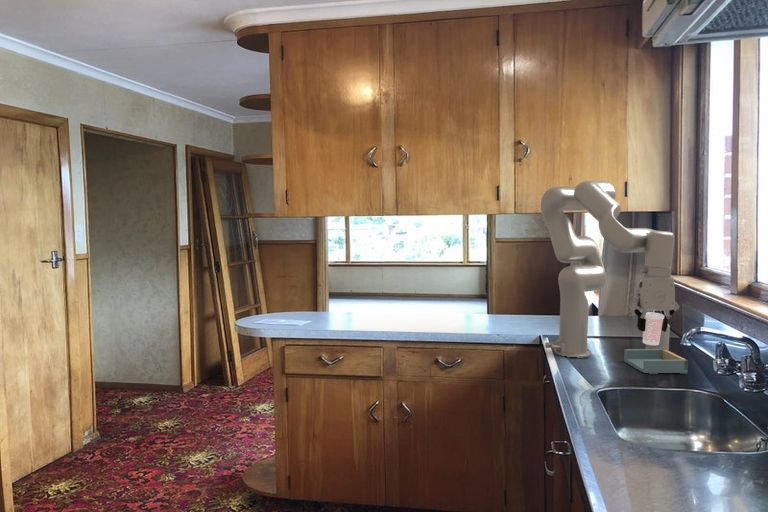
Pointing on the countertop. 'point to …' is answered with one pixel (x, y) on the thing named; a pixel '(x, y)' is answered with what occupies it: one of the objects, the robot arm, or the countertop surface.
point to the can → (662, 340)
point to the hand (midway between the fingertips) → (651, 329)
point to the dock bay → (655, 361)
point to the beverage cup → (653, 328)
